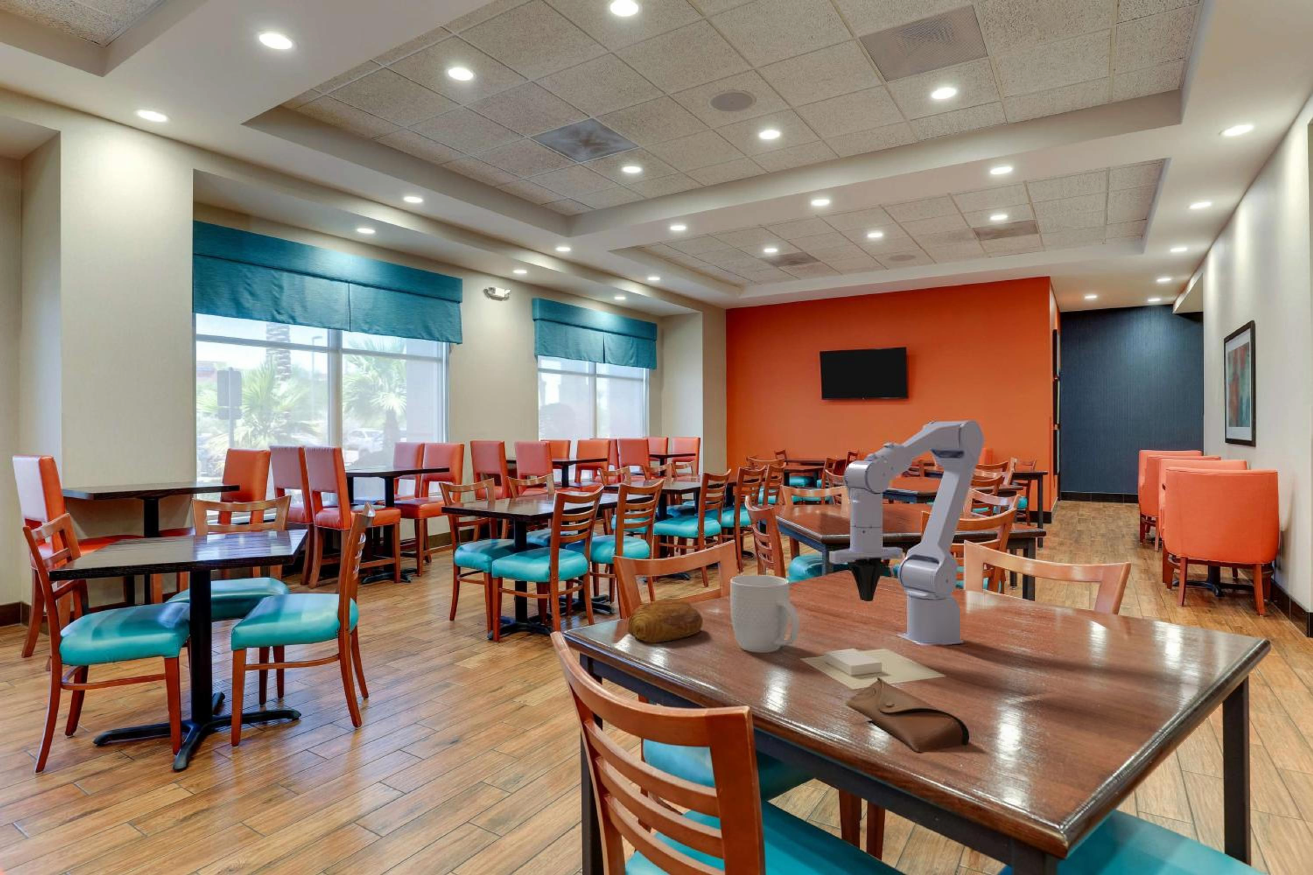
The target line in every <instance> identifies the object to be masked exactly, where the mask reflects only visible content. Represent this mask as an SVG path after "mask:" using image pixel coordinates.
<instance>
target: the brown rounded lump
mask: <svg viewBox="0 0 1313 875" xmlns="http://www.w3.org/2000/svg"><path fill="white" fill-rule="evenodd" d="M703 622H704V621H703V618H702V616H701V613H700V612H699V611H698V610H697V609H696V608H695V607H693V606H692V604H691V603H689V602H687V601H685V600H681V599H674V598H660V599H656V600H653V601H651V602H646V603H644V604H641V605H639V606H638V607H636V608H635V609H634V610H633V612H632V613H631V615H630V616H629V618H628V621H627V626H628V628H627V631H628V633H629V634H630V635H632V636H633V637H635V638H636V639H639V640H641V641H643V642H645V643H650V644H655V643H662V642H670V641H675V640H680V639H683V638H686V637H691V636H694V635H696V634H697V633H699V632H700V631H701V629H702V627H703Z"/></svg>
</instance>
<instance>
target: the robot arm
mask: <svg viewBox="0 0 1313 875" xmlns="http://www.w3.org/2000/svg"><path fill="white" fill-rule="evenodd" d="M985 440H986V439H985V437H984V434H983V430H982V428H981V426H980V424H979V423H978V421H976V420H972V419H969V420H968V419H967V420H954V421H953V420H951V421H939V420H933V421H930V422H929V423H926V424H924V425H922V429H921V430H920V431H918V432H917V433H916V434H914V435H912V437H910V438H909V439H907V440H906V441H904V442H903V443H901V444H900V443H897V442H886V443H884V444H883V448H881V449H880V450H877V451H876V452H874V453H869V454H868V455H866V458H864V460H854V461H852V462H850V464H848V465H847V467H846V469H845V471H844V475H842V480H843V484H844V486H845V488H846V491H847V498H848V500H849V506H850V507H849V509H850V510H849V511H850V512H849V524H850V525H849V528H850V530H849V532H850V534H849V535H850V536H849V542H850V545H849V548H846V549H839V550H834V551H833V550H831V551H828V552H829V553H828V554H829V556H828V557H829V560H828V561H829V563H832V564H835V565H837V564H839V565H840V564H841V563H846V564H847V566H848V568H849V570H850V572H851V575H853V577H854V581H855V584H856V587H857V590H858V594H859V599H860V600H862V601H864V602H873V600H874V597H875V593H876V589H877V586H878V584H879V581H880V578H881V576H882V575H883V573H884V571H885V569H887V562H885V561H882V560H892V559H893V560H894V559H895V560H902V559H903V556H904V555H903V553H904V552H903V548H901V547H897V546H894V547H893V546H891V547H889V546H888V547H883V546H884V545H883V543H884V542H883V541H884V540H883V536H884V534H883V531H884V530H883V520H884V519H883V518H884V516H883V513H884V512H883V510H884V509H883V505H884V504H883V500H884V499H883V498H884V497H883V494H884V493H883V492H886V491H887V490H888V488H889V486H890V483H891V482H892V480H894V479H895V478H897V477H898V476H899V475H901V474H903V473H904V472H906V471H908V470H909V469H910V468H911V466H912V462H913V460H914V459H916V458H918V457H920V456H923V455H924V454H926V453H928V452H929V453H930V454H931V456H932V458H933V459H934V461H935V462H936V463H937V465H939V466H941V467H942V468H943V474H942V477H941V481H940V483H939V487H938V490H937V493H936V497H935V499H934V501H933V504H932V509H931V511H930V514H929V518H928V521H927V523H926V526H925V529H924V532H923V535H922V539H921V541H920V543H918V544H916V545H914V546H913V547H911V548H910V549H909V548H908V550H907V553H906V556H905V557H904V559H903V560H902V561H901V562H900V564H899V566H898V568H897V578H898V579H897V580H898V583H899V585H900V586H901V587H902V588H903V593H904V594H906V596H907V597H906V610H907V611H906V618H907V619H906V629H907V630H906V631H907V632H906V633H898V634H897V636H899V637H901V638H903V639H906V640H908V641H910V642H913V643H916V644H919V645H921V646H923V647H924V646H934V645H935V646H936V645H943V646H948V645H957V644H958V645H959V644H963V643H964V640H963V639H961V609H960V604H959V602H958V599H956V597H955V596H953V595H952V594H953V592H954V591H955V589H956V587H957V581H958V580H957V574H958V573H957V572H958V568H959V563H958V561H957V559H956V558H955V557H954V556H953V554H952V552H950V550H951V547H952V544H953V540H954V539H955V538H954V537H955V535H956V532H957V529H958V525H959V521H960V519H961V516H962V512H963V510H964V507H965V503H966V500H967V497H968V494H969V490H970V487H971V484H972V481H973V477H974V474H975V471H976V467H977V465H978V463H979V460H980V456H981V453H982V450H983V447H984V444H985Z"/></svg>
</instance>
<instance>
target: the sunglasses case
mask: <svg viewBox="0 0 1313 875" xmlns="http://www.w3.org/2000/svg"><path fill="white" fill-rule="evenodd" d="M845 706H847V707H848V708H850V709H852V710H854V711H855V712H858V713H859V714H862V715H863V716H865V717H867V719H870V720H867V721H868V723H870V724H872V725H873V726H875V727H877V728H878V729H880V730H882V731H883V732H885V733H887V734H888V735H890V736H891V737H893V738H894V739H897V740H898V741H900V742H901V743H902V744H903V745H905V746H907V747H908V748H909V749H910V750H911V751H914V752H916V753H919V754H925V753H927V752H932V751H938V750H943V749H949V748H955V747H959V746H967V745H968V744H969V742H970V731H969V729H968V727H967V726H966V724H965V723H964V722H963V721H962V720H961V719H960V718H958V716H955V715H953V714H952V713H949V712H947V711H944V710H941V709H938V708H937V707H935V706H934V705H932V704H930V703H928V702H926V701H924V700H922V699H921V698H918V697H916V696H914V695H913V694H911V693H909V692H906V691H904V690H903V689H900V688H897V687H896V686H894V685H893V684H888V683H886V682H885V681H883V680H882V679H881V678H879V677H878V678H877V681H876V682H874V683H873V684H871V685H870V686H869V687H867V688H863V690H862V691H860V692H858V693H857V694H855V696H854V695H853V697H851V698H850V699H849V700H847V701H846V702H845Z"/></svg>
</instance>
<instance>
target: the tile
mask: <svg viewBox="0 0 1313 875" xmlns="http://www.w3.org/2000/svg"><path fill="white" fill-rule="evenodd" d="M823 656H824V661H825V662H827V663H828V664H830V665H832V666H834V667H836V668H838V669H840V670H841V671H843V672H845V673H847V674H849V675H851V676H853V675H861V674H868V673H876V672H882V662H881V661H878V660H876V659H874V658H872V657H870V656H868V655H866V654H864V653H862V652H860V651H859V650H858V649H856V648H847V649H838V650H829V651H824V653H823Z"/></svg>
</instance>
